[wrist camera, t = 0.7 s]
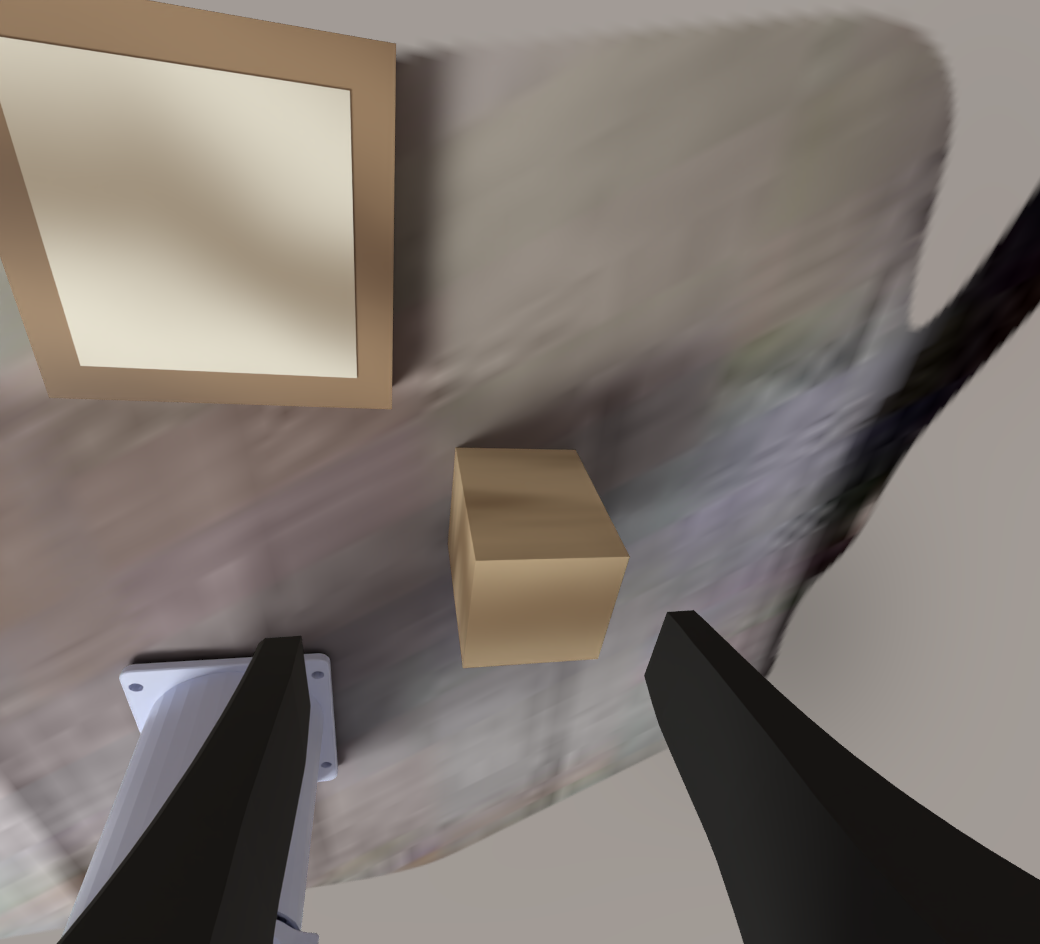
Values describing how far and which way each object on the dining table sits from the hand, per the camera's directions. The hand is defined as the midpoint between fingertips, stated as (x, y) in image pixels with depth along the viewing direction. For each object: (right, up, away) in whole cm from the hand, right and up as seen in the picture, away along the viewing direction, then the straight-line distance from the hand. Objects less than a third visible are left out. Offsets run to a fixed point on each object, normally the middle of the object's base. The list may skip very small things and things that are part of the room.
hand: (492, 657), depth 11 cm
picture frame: (-7, +10, +4) cm, 13 cm away
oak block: (0, +3, +11) cm, 11 cm away
